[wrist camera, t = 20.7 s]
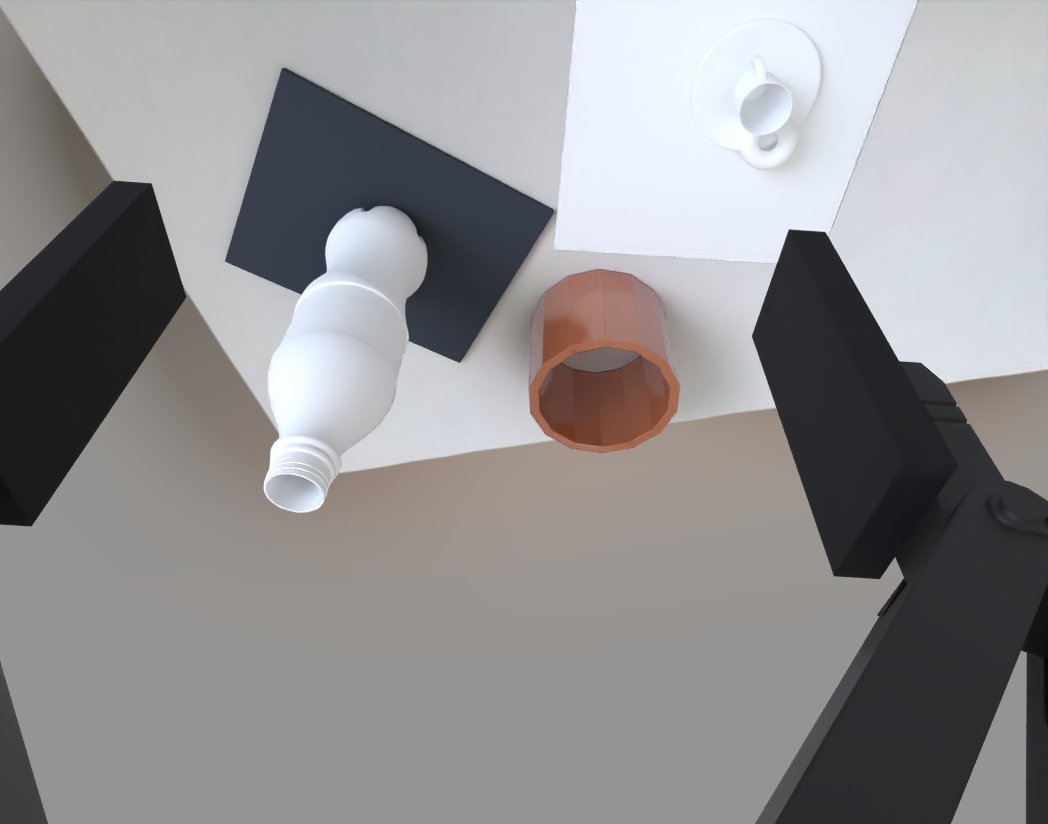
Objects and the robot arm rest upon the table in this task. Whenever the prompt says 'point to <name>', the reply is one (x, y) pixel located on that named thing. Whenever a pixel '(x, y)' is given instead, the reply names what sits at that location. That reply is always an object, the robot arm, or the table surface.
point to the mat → (381, 180)
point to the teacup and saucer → (717, 121)
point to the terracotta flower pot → (608, 397)
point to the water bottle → (342, 353)
